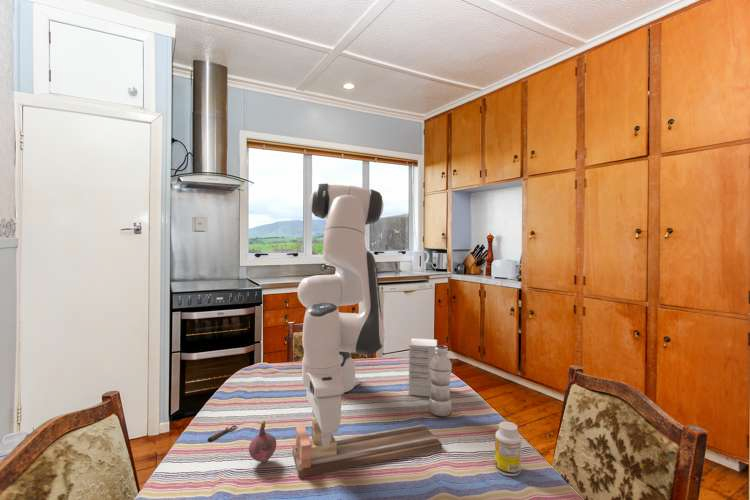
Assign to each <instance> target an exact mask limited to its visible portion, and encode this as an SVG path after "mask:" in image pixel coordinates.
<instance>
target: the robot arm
mask: <svg viewBox="0 0 750 500" xmlns="http://www.w3.org/2000/svg"><path fill="white" fill-rule="evenodd" d="M309 206H310V209H311V214H312V215H314V216H315V217H317V218H319V219H322V220H323V219H326V222H325V224H324V225H325V227H324V233H323V242H322V243H323V244H322V245H323V246H322V247H323V249H322V257H323V259H324V261H325V263H327V264H328V265H330V266H333V267H334V268H335V271H334V274H321V275H320V274H317V275H311V276H308V277H305V278H302V280H301V281H300V282H299V284H298V287H297V298H298V300H299V302H300V303H301V304H302V306H303V307H305V308H306V310H305V313H304V317H303V325H302V326H303V327H302V337H301V338H302V342H301V343H302V348H303V357H302V360H301V361H302V362H301V384H302V385H303V386H304V387H305V389H306V390H305V391H306V399H307V401H308V404H309V406H310V408H311V414H312V417H315V418H316V420H317V422H318V425H319V427H320V429H321V432H322V435H321V443H322V445H323V446H326V445H329V444H330V436H331V433H332V434H334V433H337V432H338V431H339V428H340V427H341V414H342V395H343V394H344V393H347V392H349V391H351V390H353V389H354V387H356V386H358V385H359V384H360V382H361V381H360V380H359V379H358V378H356V377H357V376H356V361H355V360H354V359H353V358H352V353H353V354H357V355H364V356H368V357H370V356H372V355H375V354H376V353H378V351H380V349H382V348H383V346H384V343H385V338H386V337H385V333H386V332H385V326H384V322H383V317H382V308H381V307H382V306H381V298H380V297H381V295H380V285H379V278H378V269H377V263H376V258H375V257H374V254H373V253H372V252H370V251H368V249H367V246H366V241H365V237H366V226H367V225H371V224H375V223H377V222H378V221H380V218H381V216H382V214H383V212H384V200H383V196H382V194H381V193H380V192H379V191H377V190H374V189H371V188H370V189H367V188H365V187H361V186H360V187H359V186H356V185H355V186H354V185H344V184H343V185H342V184H329V183H319V184H317V185H315V186H314V189H313V190H312V192H311V194H310V198H309ZM360 303H363V311H362V312H361V313H351V312H340V310H339V307H341V306H342V307H343V306H352V305H357V304H360Z"/></svg>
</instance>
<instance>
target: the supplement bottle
mask: <svg viewBox="0 0 750 500" xmlns="http://www.w3.org/2000/svg"><path fill="white" fill-rule="evenodd" d="M518 429H519V427H518V425H517V424H515V423H514V422H511V421H505V420H504V421H501V422H500V423H499V425H498V430H496V431H495V437H494V438H495V439H494V467H495V469H496V470H497V472H498V473H500V474H501V475H504V476H508V477H514V476H515V477H516V476H518V475H520V473H521V469H522V468H521V467H522V465H521V464H522V437H521V434H519V431H518Z"/></svg>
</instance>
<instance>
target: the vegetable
mask: <svg viewBox="0 0 750 500" xmlns="http://www.w3.org/2000/svg"><path fill="white" fill-rule="evenodd" d="M265 428H266V420H263V422H262V423H261V425H260V427H259V433H258V434H257V435H256V436H254V438H252V440H251V441H250V443H249V446H248V453H249V456H250V457H251V458H252V460H254V461H256V462H260V464H264V463H266V462H268V461H269V460H270V458H272V456H273V455H274V453H275V452H276V449H277V439H276V438H275V436H274V435H273V434H271V433H270V432H266V431H265Z"/></svg>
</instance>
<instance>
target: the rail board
mask: <svg viewBox="0 0 750 500" xmlns="http://www.w3.org/2000/svg"><path fill="white" fill-rule="evenodd" d="M308 437H309V436H308V433H307V429H306V427H305V425H299V426H296V427H295V446H292V457H293V461H294V464H295V468H296V473H297V476H298V479H300V478H303V477H309V476H315V475H320V474H325V473H329V472H334V471H335V472H336V471H339V470H344V469H349V468H355V467H360V466H365V465H370V464H376V463H381V462H384V461H391V460H395V459H396V460H397V459H400V458H406V457H410V456H415V455H420V454H427V453H431V452H435V451H441V450H443V443H442V442H441V441H440V440H439V438H438V436H436V435H434V434H433V433H432V431H430V430H429V429H428V428H427V426H426V425H425V424H423V423H422V424H418V425H417V424H416V425H412V426H407V427H399V428H394V429H388V430H382V431H377V432H370V433H364V434H360V435H353V436H348V437H342V438H334V439H335V441H336V443H337V455H332V456H327V457H321V458H316V459H311V443H310V440H309V438H308Z"/></svg>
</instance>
